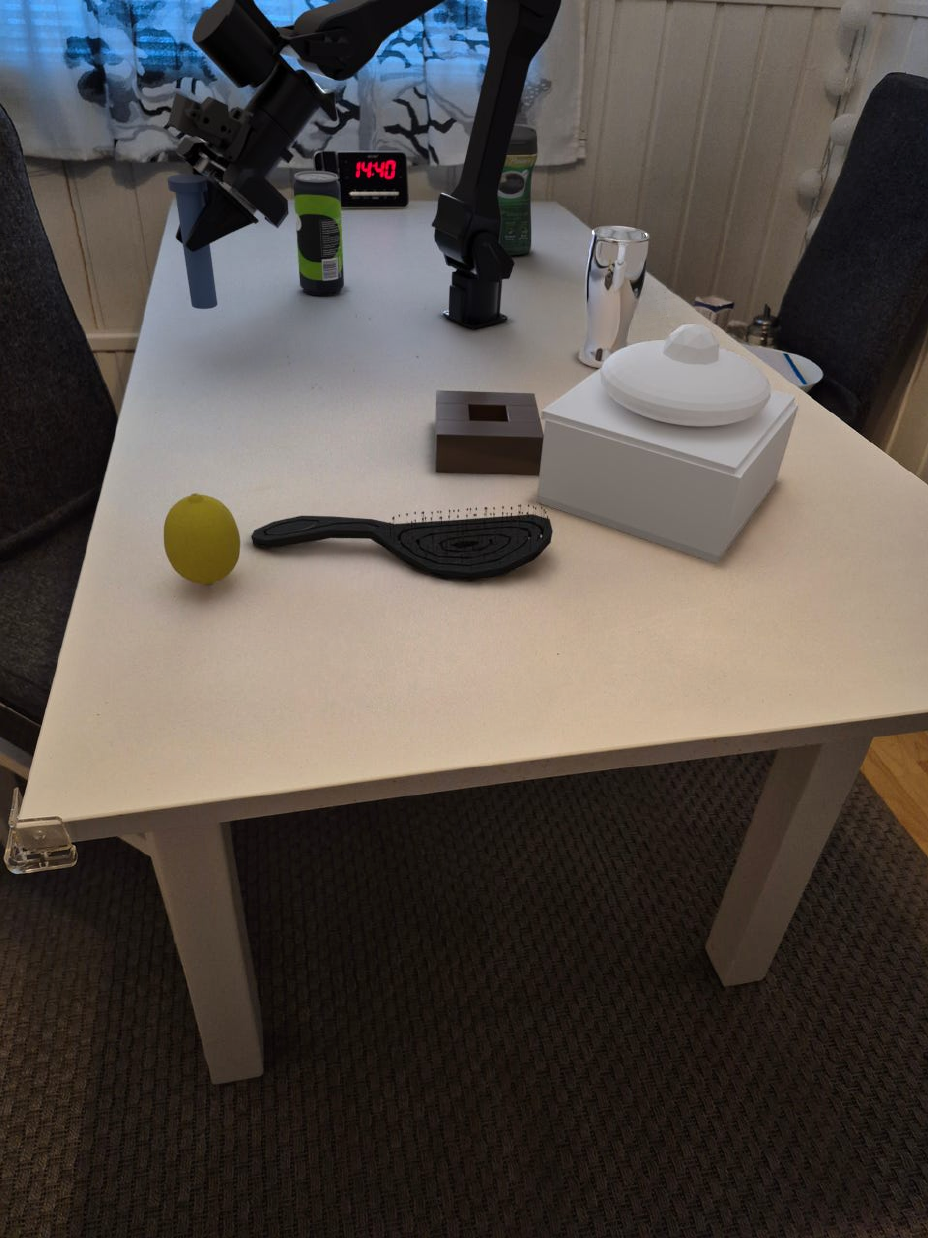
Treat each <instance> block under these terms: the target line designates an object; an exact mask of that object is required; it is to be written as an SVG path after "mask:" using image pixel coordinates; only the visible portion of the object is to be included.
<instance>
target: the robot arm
mask: <svg viewBox="0 0 928 1238" xmlns="http://www.w3.org/2000/svg"><path fill="white" fill-rule="evenodd" d="M446 1H447V0H337V1H333V2H329V3H326V4H324V5H320V6H317V7H315V8H314V7H313V8H312V9H308V10H306V11H303V12H302V13H301V14H300V15H299V16H298V17H296V19H295V21H294V23H293V24H289V25H285V26H283V25H282V26H274V24H273V23H272V22H271V20H269V19H268V17H267V16H266V15H265V14H264V13H263V12H262V10H261V9H260V8H259V7H258V5H257V3H256V2H255V0H217V1H215V3H213V4H212V5H211V6H210V8H206V9H205V10H204V11H203V13H202V14H201V15H200V17H199V19H198V20H197V22H196V24H195V26H194V29H193V31H192V36H191V37H192V42H193V43H194V44H195V45H196V46H197V47H198V48H199V49H200V50H201V51H202V52H203V53H204V55H206V56H207V58H208V59H209V60H210V61H211V62H212V63H213V64H214V65H215V66H216V67H217V68H218V69H219V70H220V71H221V72H222V73H223V74H224V75H225V77H227V79H229V80H230V81H231V82H232V84H233V85H234V86H235V87H236V88H238V89H243V88H247V87H248V86H249V87H250V88H251V89H256V88H257V90H256V91H255V93H254V94H253V95H252V96H251V98H250V99H249V101H248V102H247V103H246V105H245V106H244V107H243V108H242V107H239V106H236V107H232V108H231V109H230V110H229V105H228V104H227V103H225V102H222V101H220V100H218V99H216V98H214V97H211V96H207V97H206V98H205V99H204V100H203V101H202V102H201V103H200V102H198V101H195V100H193V99H191V98H190V97H187V96H185V95H183V94H181V93H179V92H175V94H174V98H173V101H172V106H171V109H170V113H169V117H168V121H167V126H169V127H172V128H173V129H175V130H176V131H178V132H180V133H182V134H184V135H187V136H185V137H184V138H183V139H182V140H181V142H180V143H179V145H178V146H177V147H176V149H175V150H174V152H175V153H176V154H177V155H178V156H179V157H180V158H181V159H182V160H183V161H185V162H186V163H185V169H186V171H187V174H193V175H201V176H205V177H206V180H207V191H204V192H203V195H204V203H205V205H204V207H203V209H202V211H201V213H200V215H199V217H198V218H197V220H196V222H195V224H194V226H193V228H192V230H191V232H190V234H189V236H188V238H187V240H186V242H185V246H186V247H187V248H188V249H189V250H190V251H192V252H195V251H197V250H199V249H201V248H202V247H204V246H206V245H208V244H210V245H211V244H212V243H214V242H216V241H218V240H220V239H222V238H224V237H226V236H228V235H231V234H233V233H235V232H237V231H239V230H242V229H243V228H246V227H248V226H250V225H252V224H255V225H257V224H258V223H259V222H260V220H259V219H258V218H257V217H256V216H255V214H256V213H257V212H259V213H260V214H262V215H263V216H264V220H265V221H266V222H267V223H268V224H270V225H272V226H273V227H275V228H276V229H279V228H280V226H281V225H282V224H283V222H284V221H285V220H286V218H287V217H288V216H289V214H290V213H289V212H290V211H289V200H288V199H287V197H285V196H284V194H282V193H281V192H280V191H279V190H278V189H277V188H276V187H275V186H274V185H273V184H272V183H271V182H270V181H269V178H270V177H271V176H272V174H273V173H274V172H275V170H276V169H277V167H278V166H279V165H280V163H281V162H283V163H287V164H290V162H291V161H292V160H293V158H294V157H295V155H294V154H293V153H292V152H291V151H290V150H291V148H292V147H293V145H294V144H295V143H296V141H297V140H298V138H299V137H300V136H301V135H302V133H303V132H304V130H305V129H306V127H307V126H308V125H309V123H310V122H311V121H312V119H313V118H314V117H315V115H316V114H317V115H319V117H321V118H324V119H326V120H328V121H331V122H333V123H335V122H337V121H338V118H339V116H338V109H337V105H336V104H337V103H336V97H337V93H336V92H335V91H334V90H331V89H328V88H324V89H322V88H321V87H320V86H319V84H318V83H317V82H316V81H315V80H314V78H313V77H312V76H311V75H310V74H309V73H311V74H313V75H316V76H319V77H323V78H326V79H329V80H332V81H337V82H345V81H347V80H350V79H351V78H353V77H354V76H355V75H356V74H357V73H359V72H360V71H361V70H362V69H363V68H364V67H365V66H366V65H367V64H368V63H369V62H370V61H371V60H373V58H374V57H375V56H376V54H377V53H378V52H379V49H381V46H382V44H383V43H385V41H386V40H387V39H388V38H389V37H390V36H391V35H393V34H394V33H396V32H398V31H400V29H401V30H402V28H404V27H406V26H407V25H409V24H411V23H412V22H413V21H415V20H417V19H419V18H420V17H421V16H423V15H425V14H427V13H428V12H430V11H431V10H433V9H434V8H436V7H438V6H439V5H441V4H442V3H444V2H446ZM562 1H563V0H484V2H486V7H485V8H486V9H485V26H486V33H487V39H488V40H487V41H488V45H489V52H488V57H487V62H486V66H485V70H484V73H483V74H484V75H483V79H482V83H481V87H480V92H479V95H478V100H477V105H476V109H475V113H474V119H473V122H472V126H471V131H470V136H469V140H468V145H467V149H466V154H465V158H464V161H463V167H462V170H461V175H460V179H459V182H458V183H457V185H456V186H455V187H454V189H453V190H452V191H451V192H450V194H449V195H448V194H445V193H443V192H441V193H439V196H438V199H437V207H436V213H435V217H434V219H433V221H432V222H431V224H430V225H431V227H432V228H434V235H433V238H434V242H435V243H436V244H435V245H436V246H437V248H438V250H439V251H440V252H441V253H442V255H443V258H444V261H445V264H446V266H448V267H451V268H453V269H455V271H452V272H451V284H450V285H449V291H448V293H449V294H448V310H444V311H443V313H442V316H443V317H444V318H447V319H449V320H451V321H453V322H456V323H457V324H460V325H462V326H464V327H466V328H469V329H471V330H472V329H473V330H475V329H480V328H483V327H487V326H491V325H496V324H500V323H503V322H507V321H508V319H509V318H508V316H507V315H505V314H503V313H501V304H502V303H501V302H502V292H503V291H502V290H503V280H509V279H510V278H511V276H512V273H513V271H514V267H515V264H516V263H515V261H514V259H513V258H512V257H511V255H509V254H508V253H507V252H506V251H505V250H504V248H503V247H502V246H501V245H500V244H499V239H500V231H501V223H502V219H501V213H500V206H499V200H498V189H499V185H500V181H501V177H502V173H503V169H504V165H505V161H506V157H507V153H508V149H509V145H510V141H511V137H512V133H513V129H514V125H515V124H516V121H517V117H518V113H519V109H520V104H521V101H522V96H523V94H524V88H525V84H526V81H527V76H528V73H529V69H530V66H531V63H532V61H533V59H534V57H535V56H536V55H537V54H538V52H539V51H540V49H541V48H542V47H543V46H544V44H545V43H546V42H547V40H548V39H549V37H550V36H551V33H552V30H553V27H554V24H555V22H556V19H557V17H558V15H559V12H560V9H561V6H562ZM283 56H285V57H289V58H293V59H296V62H298V64H299V66H301V67H302V68H301V69H300V68H299V69H296V70H295V69H294V68H293V67H292V66H291V65H290V64H289V63H288V61H287V60H286V59H285V58H284V57H283ZM308 72H309V73H308ZM175 240H176V241H178V242H179V243H180V244H181V245H183V242H182V235H181V228H180V223H179V225H178V228H177V230H176V233H175Z"/></svg>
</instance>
